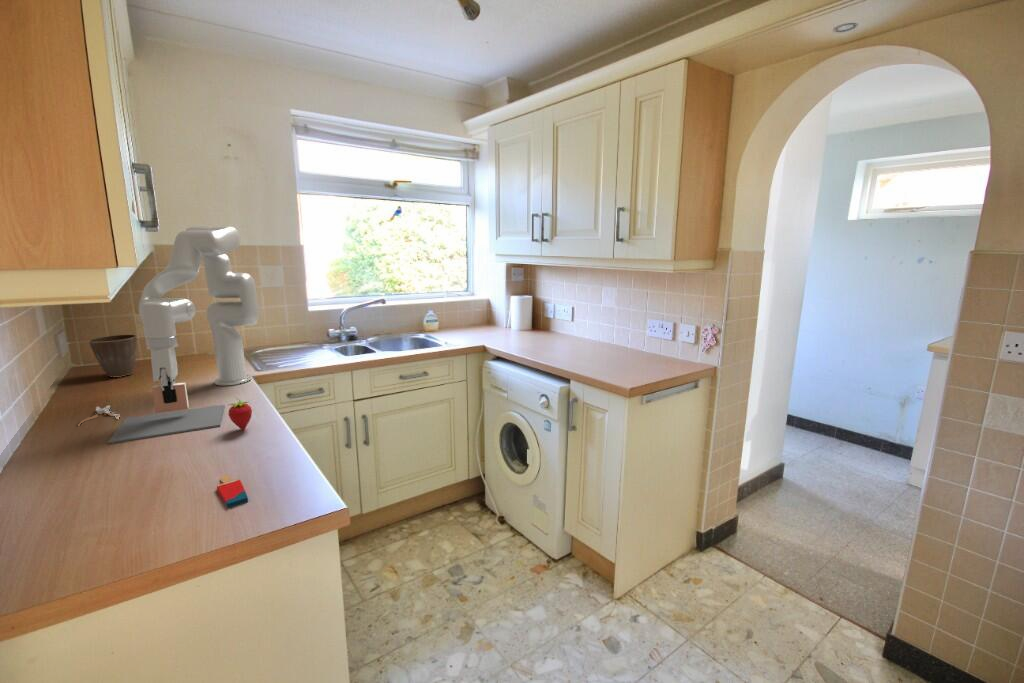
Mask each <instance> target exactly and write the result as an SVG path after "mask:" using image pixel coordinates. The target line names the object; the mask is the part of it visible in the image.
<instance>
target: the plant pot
mask: <svg viewBox="0 0 1024 683" xmlns="http://www.w3.org/2000/svg"><path fill="white" fill-rule="evenodd" d="M137 338H138V336H137V335H135V334H117V335H108V336H102V337H96V338H92V339H90V340H88V343H89V345H90V348H91V350H92V352H93V354H94V356H95V358H96V360H97V362H98V364H99V365H100V366H101V369H102V370H103V372H104V373H105V374H106V375H107V376H112V377H113V376H122V375H127V374H130V373H132V372H134V369H135V365H136V364H135V363H136V357H137V350H138V349H137V346H138V343H137V342H138V339H137ZM132 374H133V373H132Z"/></svg>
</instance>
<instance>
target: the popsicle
mask: <svg viewBox="0 0 1024 683" xmlns="http://www.w3.org/2000/svg"><path fill="white" fill-rule="evenodd" d="M219 480H220V482H221V483H219V484H216V490H217V492H218V494H219V496H220V498H221V500H222V502H223V503H224V505H225V507H226V508H227V509H230V508H233V507H236V506H237V507H238V506H239V505H243V504H246V503H249V497H248V494H247V492H246V489H245V488H244V485H243V482H242V480H241V479H240V478H238V479H233V480H232V478H231V476H230V475H224V476H221V477H220V478H219Z"/></svg>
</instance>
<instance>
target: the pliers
mask: <svg viewBox="0 0 1024 683" xmlns="http://www.w3.org/2000/svg"><path fill="white" fill-rule="evenodd" d="M110 407H111V405H110V404H109V405H106V406H105V407H103V408H101V407H100V406H96V407H95V412H97V413H100V412H105V413H110V412H111V409H110ZM109 409H110V411H109ZM105 413H104V414H105ZM116 415H119V416H117V417H116ZM113 416H115V417H114V418H115V420H116V419H119V417H120V418H121V415H120V414H119V413H118V414H113ZM119 420H120V419H119Z"/></svg>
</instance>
